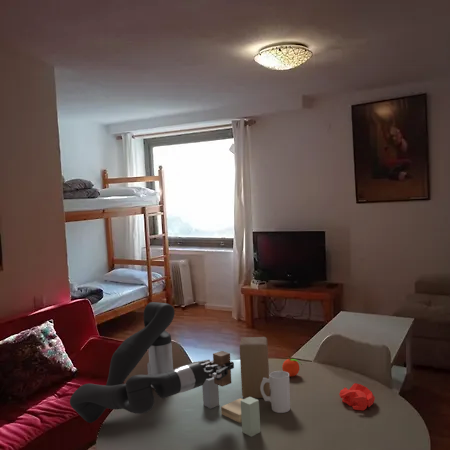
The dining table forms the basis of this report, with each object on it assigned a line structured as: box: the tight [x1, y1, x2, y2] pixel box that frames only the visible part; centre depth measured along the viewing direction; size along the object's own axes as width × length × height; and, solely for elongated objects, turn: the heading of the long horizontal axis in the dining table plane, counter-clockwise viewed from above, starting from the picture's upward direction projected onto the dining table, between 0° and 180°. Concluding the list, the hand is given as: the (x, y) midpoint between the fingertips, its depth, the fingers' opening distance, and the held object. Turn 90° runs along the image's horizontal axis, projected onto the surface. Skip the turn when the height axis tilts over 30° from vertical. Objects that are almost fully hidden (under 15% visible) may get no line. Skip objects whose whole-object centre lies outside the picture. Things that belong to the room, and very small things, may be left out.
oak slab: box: [220, 397, 244, 424], centre depth 153 cm, size 9×9×3 cm
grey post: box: [202, 377, 220, 410], centre depth 161 cm, size 4×4×10 cm
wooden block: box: [239, 336, 271, 399], centre depth 168 cm, size 10×10×20 cm
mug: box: [260, 370, 291, 414], centre depth 155 cm, size 10×7×12 cm, turn 82°
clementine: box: [281, 358, 303, 378], centre depth 183 cm, size 8×7×7 cm
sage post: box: [241, 397, 261, 437], centre depth 140 cm, size 4×4×10 cm
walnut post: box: [212, 350, 232, 387], centre depth 150 cm, size 4×4×10 cm
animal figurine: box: [339, 382, 376, 411], centre depth 158 cm, size 12×15×5 cm
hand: (228, 363), depth 152 cm, fingers closed on walnut post, 4 cm apart
